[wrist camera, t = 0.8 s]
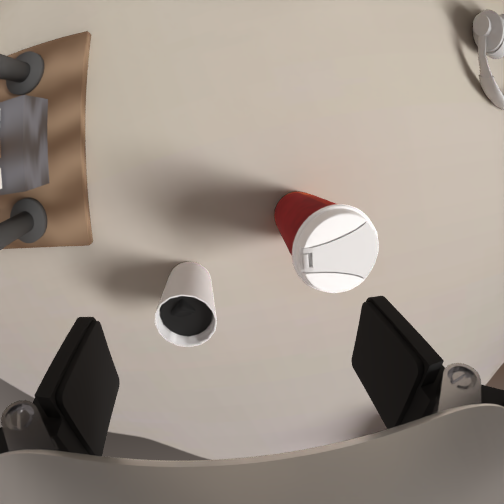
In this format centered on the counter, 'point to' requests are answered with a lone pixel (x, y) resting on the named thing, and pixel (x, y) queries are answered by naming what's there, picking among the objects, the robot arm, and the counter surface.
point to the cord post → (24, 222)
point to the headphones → (489, 51)
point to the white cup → (187, 306)
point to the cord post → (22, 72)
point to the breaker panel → (49, 144)
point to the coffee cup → (327, 241)
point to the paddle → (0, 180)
